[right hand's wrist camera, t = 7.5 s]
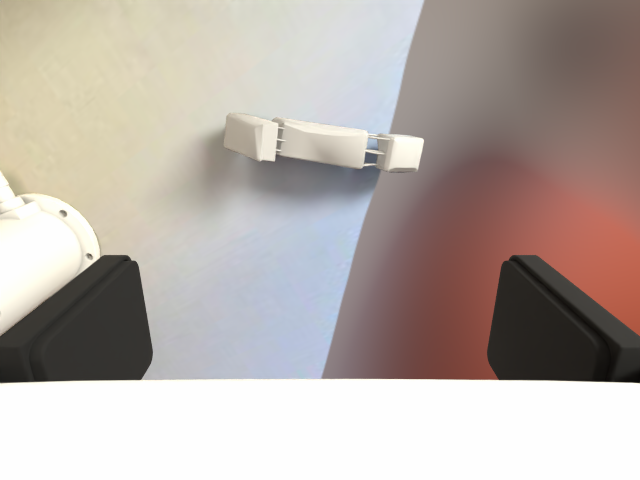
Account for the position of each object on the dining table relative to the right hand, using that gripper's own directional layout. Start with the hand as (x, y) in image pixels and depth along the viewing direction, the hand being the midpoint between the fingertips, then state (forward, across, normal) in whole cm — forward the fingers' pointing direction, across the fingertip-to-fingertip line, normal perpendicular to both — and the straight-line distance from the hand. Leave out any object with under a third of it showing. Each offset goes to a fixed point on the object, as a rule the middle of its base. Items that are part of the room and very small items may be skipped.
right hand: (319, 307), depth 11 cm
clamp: (+36, 0, 0) cm, 36 cm away
